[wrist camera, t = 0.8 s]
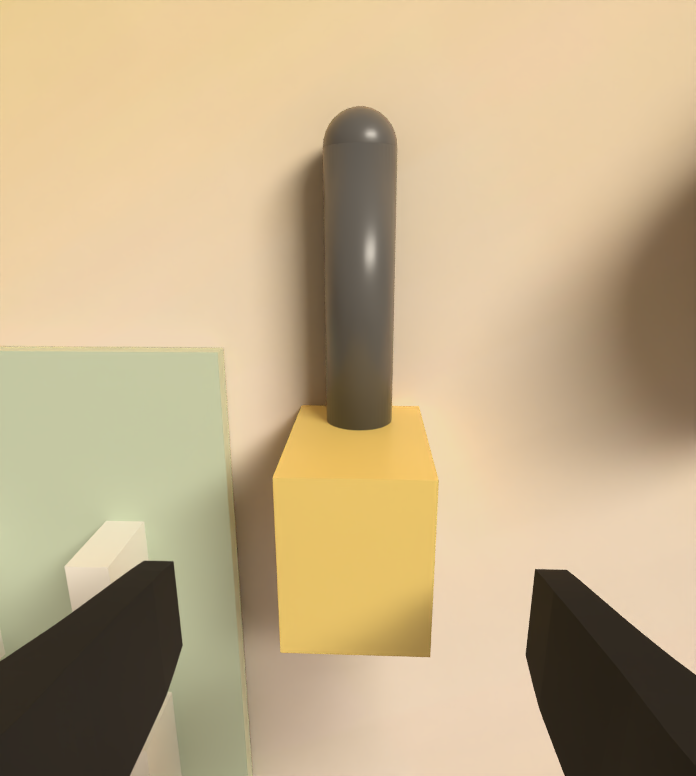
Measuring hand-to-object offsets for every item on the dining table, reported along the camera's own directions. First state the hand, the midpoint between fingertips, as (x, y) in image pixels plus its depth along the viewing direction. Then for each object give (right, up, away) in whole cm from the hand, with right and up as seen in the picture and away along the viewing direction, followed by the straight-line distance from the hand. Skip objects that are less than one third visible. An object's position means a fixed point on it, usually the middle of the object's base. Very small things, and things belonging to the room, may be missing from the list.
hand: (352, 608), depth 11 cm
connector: (0, +6, +5) cm, 7 cm away
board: (-10, -4, +8) cm, 13 cm away
